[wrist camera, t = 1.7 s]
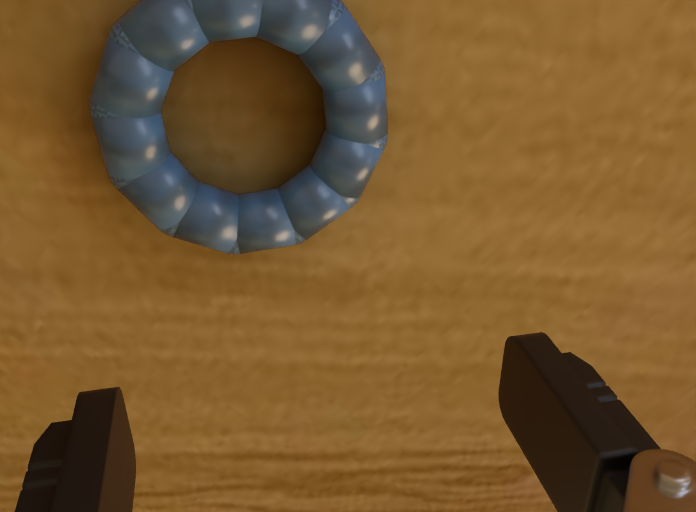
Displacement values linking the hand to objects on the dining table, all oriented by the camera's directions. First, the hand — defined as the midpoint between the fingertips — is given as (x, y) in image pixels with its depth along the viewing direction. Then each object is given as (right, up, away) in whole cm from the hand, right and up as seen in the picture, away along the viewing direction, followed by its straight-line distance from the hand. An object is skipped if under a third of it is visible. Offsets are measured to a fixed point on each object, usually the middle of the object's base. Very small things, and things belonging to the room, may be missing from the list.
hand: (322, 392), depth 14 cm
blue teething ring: (-3, +8, +11) cm, 14 cm away
